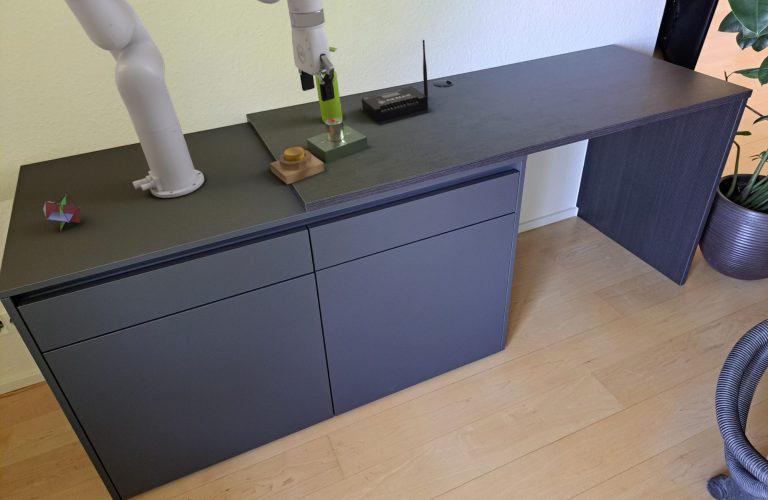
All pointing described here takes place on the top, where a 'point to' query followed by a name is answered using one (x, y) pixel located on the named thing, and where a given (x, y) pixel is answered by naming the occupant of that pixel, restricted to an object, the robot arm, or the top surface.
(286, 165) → the button housing
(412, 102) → the wireless controller
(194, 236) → the top surface
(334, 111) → the soap dispenser
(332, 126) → the dial
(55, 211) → the geometric puzzle
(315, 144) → the dial panel
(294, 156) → the round yellow button
